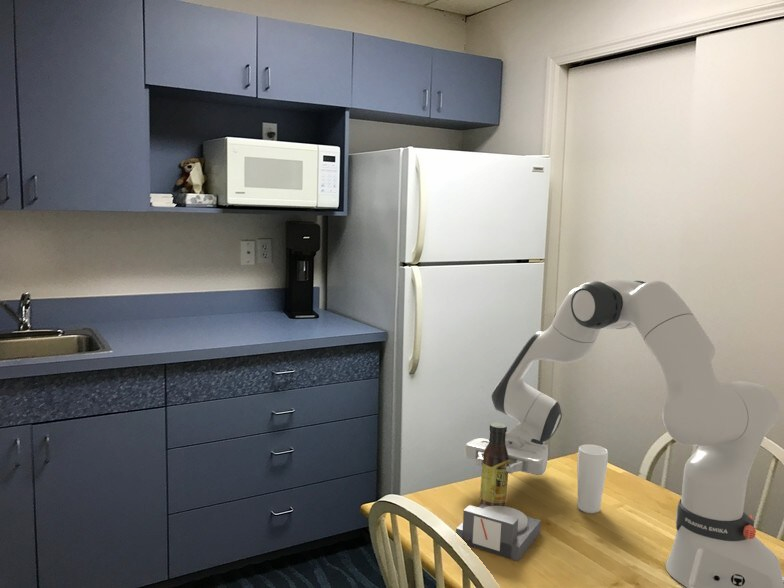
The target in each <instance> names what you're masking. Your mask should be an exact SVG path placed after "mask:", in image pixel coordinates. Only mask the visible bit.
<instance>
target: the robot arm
mask: <svg viewBox="0 0 784 588" xmlns="http://www.w3.org/2000/svg"><path fill="white" fill-rule="evenodd" d="M555 313H556V314H555V315H554V318H553V319H552V321H551V324H550V326H549V327H548V328H547V329H546V330H544V331H543V330H542V331H541V330H538V331H536V332H535V333H534V334H533V335H532V336H531V337H530V338H529V339H528V341H527V342H526V343H525V344H524V346H523V347H522V348H521V350H520V352H519V353H518V355H517V356H516V358H515V359H514V360H513V362H512V364H511V365H510V367H509V368H508V369H507V371H506V373H505V374H504V375H503V377H502V379H500V380H499V382H498V383H497V384H496V385H495V387H494V388H493V391H492V394H491V400H492V404H493V407H494V409H495V410H496V411H498V412H500V413H502V414H503V415H506V416H508V417H510V418H512V419H513V420H516V421H517V422H518V423H517V424H515V425H514V426H513V427H512V428H511V429H509V430H507V431H506V437H505V442H506V443H505V445H506V448H507V452H508V456H509V464H508V465H507V466H506V469H507V470H506V472H507V473H508V474H513V473H517V472H521V473H526V474H530V475H535V476H541V475H543V474H544V473H546V470H547V465H548V459H549V458H548V457H549V448H548V447H549V446H548V444H547V443H546V441H549V440H550V439H552V437H553V436H554V434H555V433H556V431H557V430H558V428H559V426H560V423H561V420H562V416H563V413H562V409H561V404H560V403H559V402H558V401H557V400H556V399H554V398H552V397H551V396H549V395H547V394H545V393H543V392H541V391H539V390H538V389H536V388H534V387H533V386H531V385H529V384H528V383H526V382H525V381H524V376H525V375H526V373H528V371H529V369H530V368H531V366H532V365H533V363H534V362H535V361H550V362H554V363H555V362H556V363H559V364H569V363H570V364H571V363H576V362H579V361H581V360H583V359H585V358H586V357H587V356H588V355H589V353H590V351H591V350H592V348H593V347H594V345H595V343H596V340H597V338H598V336H599V333H600V332H601V329H607V330H608V329H609V330H610V329H611V330H614V329H615V330H624V329H625V330H626V329H631V328H636V329H637V331H638V332H639V334H640V336H641V338H642V339H643V341H644V344H646V347H647V348H648V350H649V351H650V353H651V355H652V357H653V359H654V360H655V362H656V365H658V368H659V370H660V371H661V374H662V376H663V380H664V384H665V389H666V399H665V400H666V401H665V403H664V405H663V408H662V416H661V417H662V422H663V426H664V427H665V430H666V432H667V434H668V435H669V436H670V437H671V438H672V439H673V440H674V441H675V442H676V443H678V444H680V445H684V446H693V447H694V446H695V447H697V448H696V449H695V451H694V452H693V453H692V455H691V456H690V457H688V459H687V461H686V463H685V465H684V469H683V478H682V487H681V498H680V499H679V501H678V504H677V508H676V515H675V516H676V518H675V524H676V525H675V527H676V533H675V537H674V541H673V543H672V548H671V551H670V553H669V556H668V558H667V561H666V562H665V569H666V571H667V573H668V574H669V575H670V577H671V578H673V579H674V580H675V581H677V582H678V583H680V584H681V585H683V586H684V587H685V588H784V575H783V571H782V568H781V567H782V566H781V565H780V561H779V559H778V557H777V555H776V554H775V553H774V552H773V551H772V550H771V549H770V548H769V547H768V546H766V545H765V544H764V543H763V542H762V541H761V540H760V539H759V538H758V537H757V536H756V532H757V530H756V528H755V521H754V520H753V519H754V518H753V515H752V514H751V513H750V515H748V514H746V512H744V507H745V499H746V493H747V485H748V479H749V475H750V472H751V469H752V466H753V464H754V461H755V459H756V457H757V455H758V452H759V449H760V447H761V446H762V443H763V441H764V439H765V438H766V435H767V434H768V433H769V432H770V430H771V429H772V428H773V427H774V426H775V425H776V423H777V422H778V419H779V417H780V410H781V409H780V404H779V401H778V399H777V397H776V394H774V393H773V391H772V390H771V389H769V388H768V387H767V386H765V385H763V384H761V383H758V382H757V383H756V382H751V381H743V380H735V381H730V382H722V383H720V381H719V380H718V378H717V377H716V375H715V371H714V368H713V364H712V361H713V359H714V357H715V354H716V353H715V352H716V350H715V349H716V348H715V346H714V345H715V344H714V343H713V341H711V339H710V338H709V336H708V334H707V333H706V331H705V330H704V328H703V327H702V325H701V324H700V322H699V321H698V318H697V317H696V315H694V313H693V312H692V310H691V308H690V307H689V305H687V304H686V302H685V301H684V300H683V298H682V297H681V295H679V293H677V292H676V291H675V290H674V289H673V287H671V286H670V285H669V283H666V282H664V281H661V280H651V281H648V282H646V281H641V280H633V281H632V280H623V279H622V280H621V279H606V280H601V281H599V280H593V281H590V282H589V281H588V282H585V283H581V285H579V286H578V287H574V288H572V289H571V290H570V291H569V292H568V293H567V295H566V296H565V298H564V299H563V301H562V303H561V304H560V306H559V307H558V310H557V311H556V312H555ZM489 439H490V438H489ZM489 439H488V438H484V437H483V438H482V437H477V438H474V439H471V440H469V441H468V442H466V443H465V445H464V456H465V458H466V459H468V460H472V461H473V460H474V461H476V463H475V464H476V466H479V467H482V463H483V455H484V450H485V448H486V446H487V445H488V444H489Z"/></svg>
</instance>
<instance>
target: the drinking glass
mask: <svg viewBox="0 0 784 588" xmlns="http://www.w3.org/2000/svg"><path fill="white" fill-rule="evenodd" d="M577 451H578V452H577V460H576V461H577V463H576V464H577V469H576V470H577V471H576V472H577V473H576V474H577V479H576V480H577V501H576V502H577V505H576V506H577V509H578V510H580V512H583V513H586V514H596V513H599V512H600V511H601V507H602V506H601V505H602V504H601V503H602V498H603V497H602V496H603V493H604V492H603V491H604V485H605V481H606V475H607V468H608V460H609V459H608V458H609V455H608V454H609V452H608V449H606V448H605V447H603V446H600V445H597V444H582V445H580V446H578V450H577Z"/></svg>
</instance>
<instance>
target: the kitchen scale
mask: <svg viewBox="0 0 784 588" xmlns="http://www.w3.org/2000/svg"><path fill="white" fill-rule="evenodd" d="M462 518H463V519H462V523H460V524H459V525H458V526H457V527H456V529H455V534H456V533H457V534H458V535H459V536H460V537H461V538H462V539H463V540H464V541H465V542H466V543H467V544H468V545H469V547H472V548H474V547H475V549H478V548H479V549H478V550H481V551H484V552H488V553H490V554H494V555H496V556H500V557H504V558H506V559H510V560H513V561H517V562H519V561H520V559H521V558H522V557H523V555H524V554H525V553H526V551H528V549H529V548H530V546H531V545H532V544H533V543H534V541H535V540H536V539H537V538H538V536H539V535H540V534H541V528H542V527H541V526H542V525H541V524H542V520H541V519H538V518H535V517H532V516H527V515H526V514H525V513H524V512H522V511H520V510H519V509H516V508H514V507H510V506H506V505H505V506H488V505H484V504H481V503H480V505H479V506H474V505H472V504H469V505H468V506H466V508H464V509H463V515H462ZM468 545H467V546H468Z"/></svg>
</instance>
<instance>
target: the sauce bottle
mask: <svg viewBox="0 0 784 588" xmlns="http://www.w3.org/2000/svg"><path fill="white" fill-rule="evenodd" d="M507 429H508V425H506V424H505V423H502V422H491V423H490V424H489V431H490V432H489V444H488V445H487V446H486V448H485V450H484V455H483V463H482V466H481V467H482V468H481V477H480V478H481V479H480V491H479V494H480V495H479V497H480V498H479V499H480V505H481V504H484V505H488V506H506V501H507V493H508V481H509V480H508V478H509V473H507V472H506V470H507V469H506V466H507V465H508V464H509V456H508V452H507V448H506V445H505V443H506V442H505V437H506V432H508V430H507Z"/></svg>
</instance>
